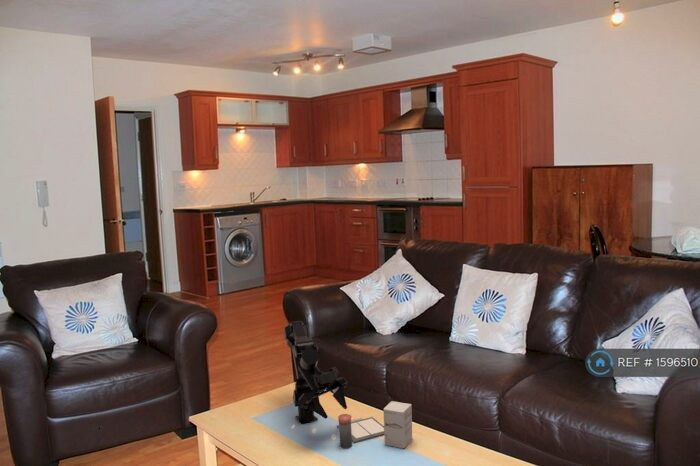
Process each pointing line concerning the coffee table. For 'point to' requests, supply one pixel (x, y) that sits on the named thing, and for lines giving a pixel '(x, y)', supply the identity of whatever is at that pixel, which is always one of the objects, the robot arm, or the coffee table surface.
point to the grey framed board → (365, 429)
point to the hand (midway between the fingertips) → (336, 413)
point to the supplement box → (398, 424)
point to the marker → (345, 430)
